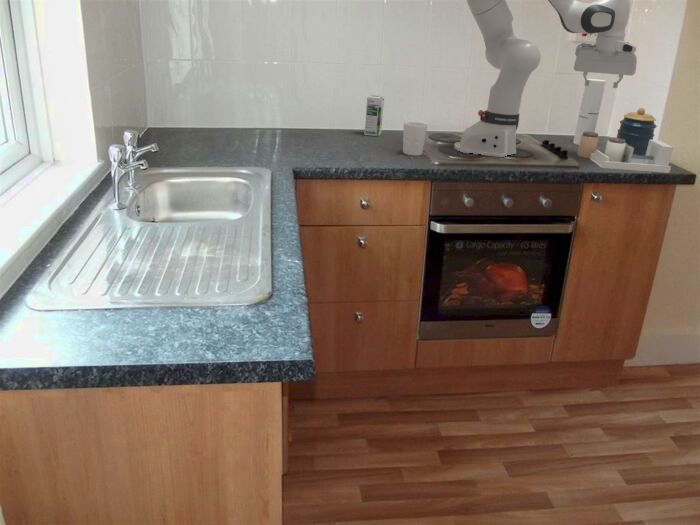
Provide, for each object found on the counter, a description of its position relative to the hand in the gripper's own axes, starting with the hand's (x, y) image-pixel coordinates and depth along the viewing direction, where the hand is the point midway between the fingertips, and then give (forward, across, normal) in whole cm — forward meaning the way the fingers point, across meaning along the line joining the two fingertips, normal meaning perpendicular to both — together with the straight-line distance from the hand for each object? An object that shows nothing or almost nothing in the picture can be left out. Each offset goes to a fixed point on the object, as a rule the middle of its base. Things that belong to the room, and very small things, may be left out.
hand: (600, 86), depth 223 cm
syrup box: (+24, -79, -11) cm, 83 cm away
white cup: (+24, -58, -32) cm, 70 cm away
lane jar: (+25, +8, -8) cm, 27 cm away
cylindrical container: (+26, -1, +26) cm, 37 cm away
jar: (+25, 0, 0) cm, 25 cm away
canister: (+26, +16, +17) cm, 35 cm away
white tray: (+26, +14, -6) cm, 30 cm away
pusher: (+25, +16, -6) cm, 30 cm away
